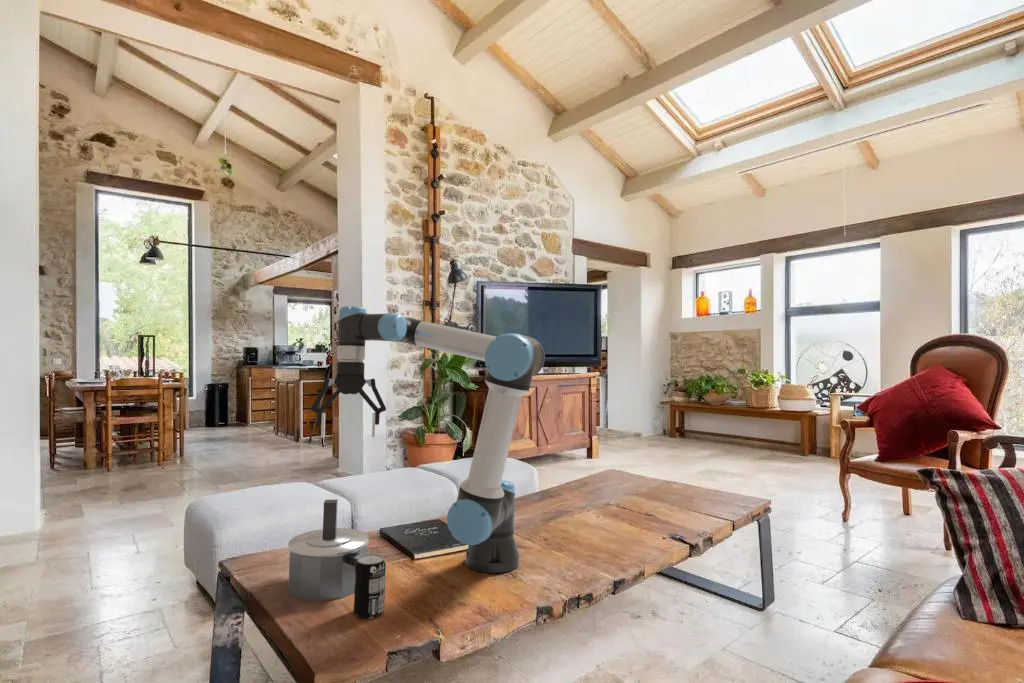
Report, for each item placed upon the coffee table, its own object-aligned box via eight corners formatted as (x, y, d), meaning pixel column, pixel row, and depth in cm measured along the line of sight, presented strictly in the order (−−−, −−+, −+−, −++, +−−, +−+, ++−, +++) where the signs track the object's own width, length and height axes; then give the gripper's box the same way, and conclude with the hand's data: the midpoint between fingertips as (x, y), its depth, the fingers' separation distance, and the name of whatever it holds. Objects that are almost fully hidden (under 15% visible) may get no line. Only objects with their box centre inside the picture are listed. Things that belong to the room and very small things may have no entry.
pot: (387, 586, 135) (388, 545, 135) (323, 611, 121) (325, 566, 121) (330, 562, 149) (331, 526, 150) (267, 583, 135) (269, 542, 135)
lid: (369, 530, 147) (371, 491, 147) (367, 555, 128) (368, 510, 128) (295, 533, 142) (296, 493, 143) (281, 559, 124) (283, 513, 124)
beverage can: (356, 606, 123) (358, 553, 124) (386, 606, 124) (387, 553, 124) (350, 620, 117) (352, 564, 117) (381, 619, 117) (383, 563, 118)
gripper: (395, 362, 160) (393, 434, 159) (305, 360, 154) (302, 435, 153) (396, 362, 153) (394, 437, 152) (302, 360, 146) (299, 439, 146)
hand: (348, 436), depth 152 cm, fingers open, 13 cm apart
